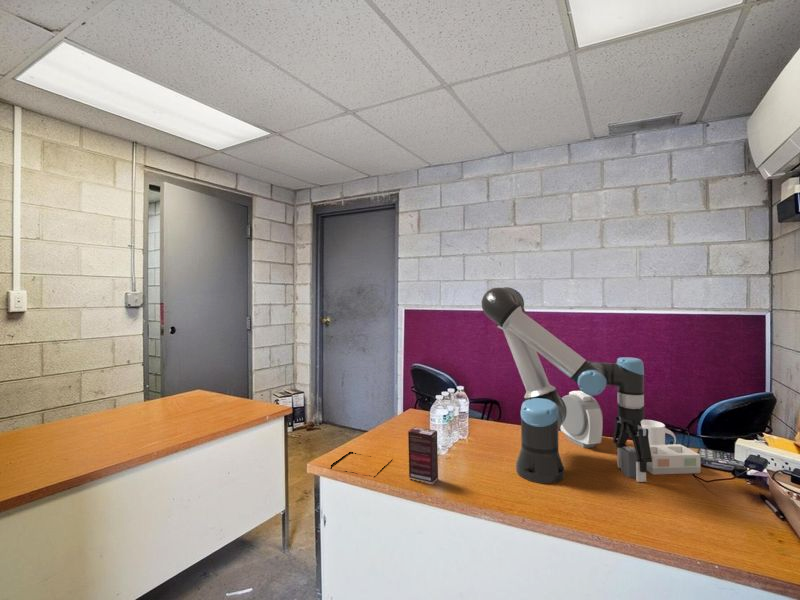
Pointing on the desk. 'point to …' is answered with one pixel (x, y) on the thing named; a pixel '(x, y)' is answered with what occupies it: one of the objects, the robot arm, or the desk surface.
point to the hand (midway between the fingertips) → (631, 473)
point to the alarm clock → (582, 419)
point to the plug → (628, 461)
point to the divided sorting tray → (673, 460)
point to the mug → (656, 432)
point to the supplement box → (423, 455)
